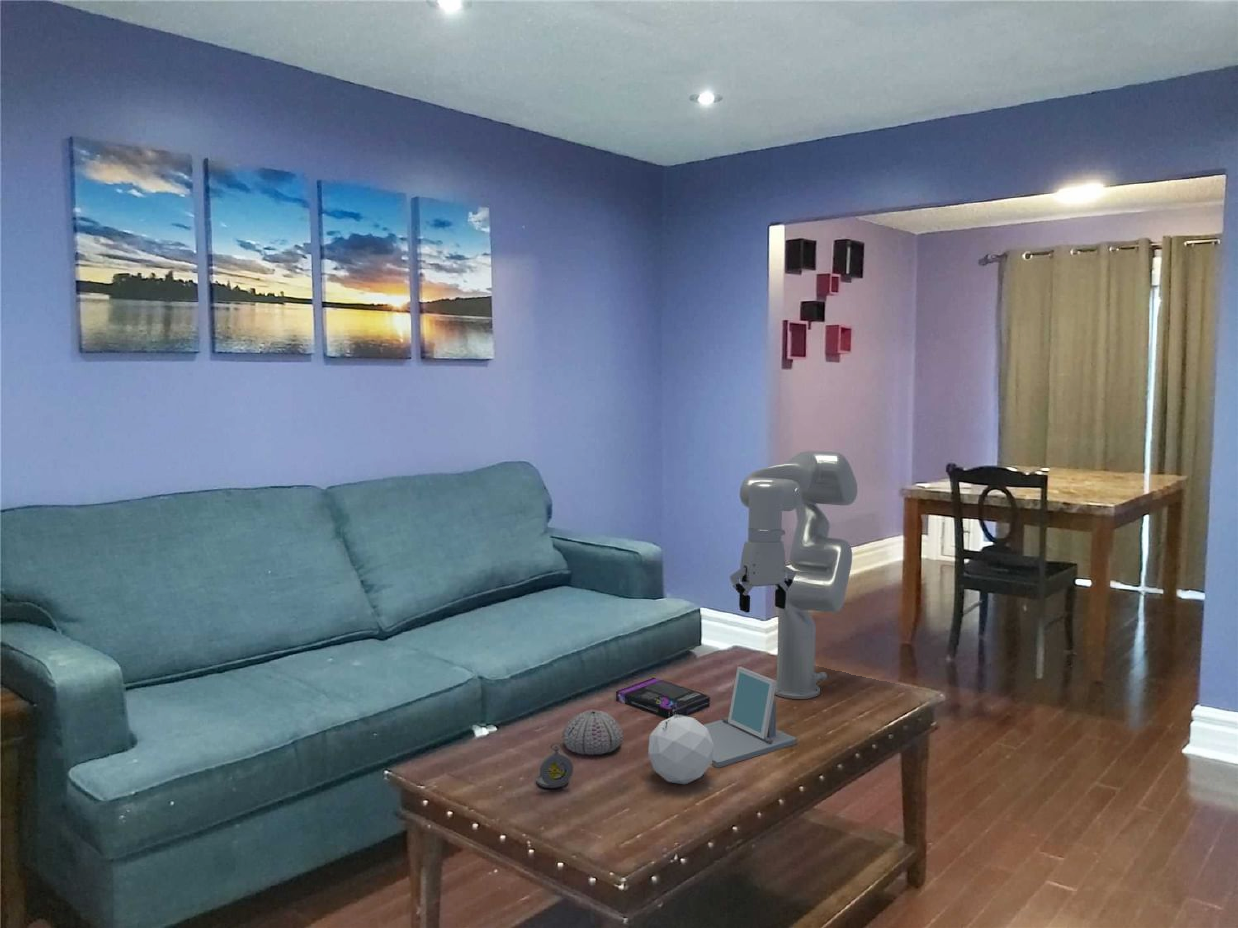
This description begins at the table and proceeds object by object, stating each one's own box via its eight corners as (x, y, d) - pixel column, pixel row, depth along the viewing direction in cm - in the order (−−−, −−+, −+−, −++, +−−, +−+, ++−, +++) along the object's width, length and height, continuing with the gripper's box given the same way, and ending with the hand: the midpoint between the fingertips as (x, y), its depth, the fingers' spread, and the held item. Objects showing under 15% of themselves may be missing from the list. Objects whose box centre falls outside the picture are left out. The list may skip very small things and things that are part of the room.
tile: (740, 666, 222) (737, 666, 221) (776, 681, 212) (773, 680, 211) (730, 721, 221) (727, 721, 221) (766, 738, 212) (763, 738, 211)
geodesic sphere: (676, 778, 182) (702, 711, 187) (621, 759, 191) (648, 695, 196) (710, 801, 191) (734, 737, 196) (657, 782, 200) (681, 720, 205)
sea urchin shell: (617, 761, 203) (617, 725, 202) (555, 756, 206) (555, 721, 205) (627, 737, 216) (627, 703, 215) (569, 733, 219) (569, 699, 218)
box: (615, 703, 240) (672, 723, 226) (615, 690, 240) (672, 709, 226) (653, 690, 250) (710, 707, 236) (653, 676, 249) (710, 694, 235)
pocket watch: (552, 772, 197) (551, 726, 196) (582, 784, 192) (582, 736, 191) (523, 786, 191) (523, 738, 190) (554, 798, 186) (554, 749, 185)
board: (743, 718, 228) (744, 680, 227) (797, 743, 213) (798, 703, 212) (666, 739, 215) (666, 699, 214) (718, 767, 200) (718, 724, 199)
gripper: (786, 531, 225) (784, 602, 226) (723, 535, 217) (721, 609, 219) (805, 536, 218) (803, 609, 219) (741, 540, 211) (739, 616, 212)
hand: (762, 609), depth 219 cm, fingers open, 9 cm apart
